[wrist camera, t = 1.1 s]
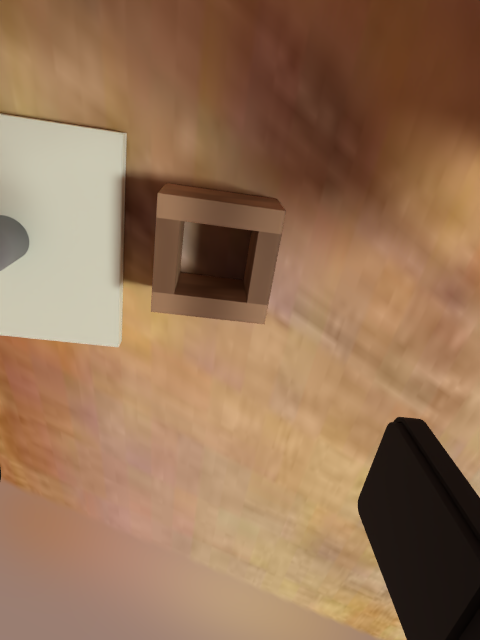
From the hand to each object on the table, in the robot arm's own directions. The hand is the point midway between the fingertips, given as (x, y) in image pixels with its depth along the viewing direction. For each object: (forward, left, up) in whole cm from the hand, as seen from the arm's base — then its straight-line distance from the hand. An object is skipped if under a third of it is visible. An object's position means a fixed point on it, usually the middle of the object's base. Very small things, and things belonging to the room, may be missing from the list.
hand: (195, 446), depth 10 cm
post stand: (+13, +1, -19) cm, 23 cm away
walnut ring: (0, 0, -19) cm, 19 cm away
